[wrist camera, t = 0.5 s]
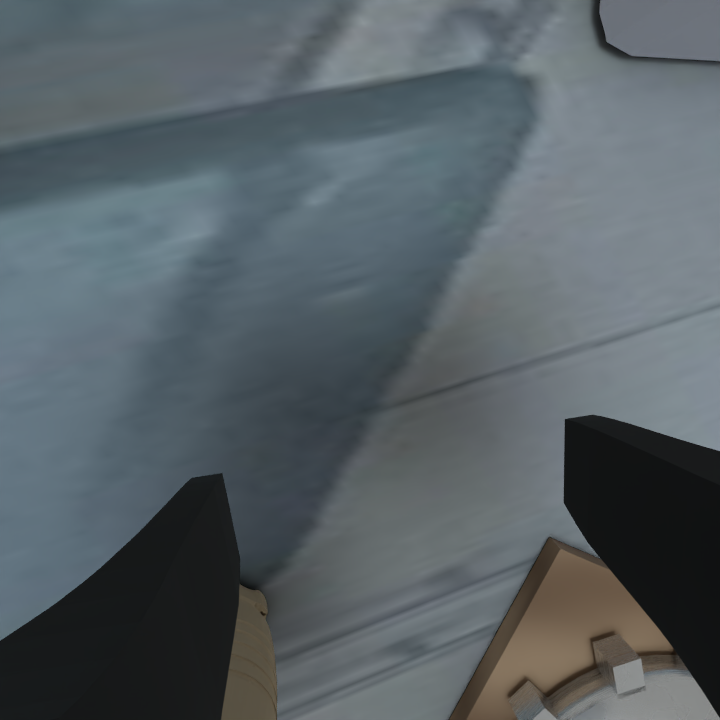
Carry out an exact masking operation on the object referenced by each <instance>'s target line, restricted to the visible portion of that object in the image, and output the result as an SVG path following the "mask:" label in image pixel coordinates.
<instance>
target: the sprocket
mask: <svg viewBox="0 0 720 720" xmlns="http://www.w3.org/2000/svg"><path fill="white" fill-rule="evenodd" d="M593 648H594V653H595V659H596V664H597V668H596V669H594V670H592V671H590V672H588V673H586V674H584V675H582V676H579V677H577V678H576V679H574V680H573V681H571V682H569V683H568V684H566V685H564V686H563V687H561V688H560V689H558V690H557V691H556V692H554V693H553V694H552V695H551V696H549V697H548V698H547V697H546V696H545V695H544V694H543V693H542V692H541V691H540V690H539V689H538V688H536V687H535V686H534V685H533V684H532V683H531V682H530V681H527V682H526V683H525V684H524V685H523V686H522V687H521V688H520V689H519V690H518V691H517V692H516V693H515V694H514V695H513V696H512V697H510V698H509V699H508V701H509V703H510V705H511V707H512V709H513V711H514V713H515V715H516V717H517V719H518V720H720V718H719V716H718V715H717V713H716V712H715V710H714V708H713V707H712V705H711V704H710V702H709V700H708V699H707V697H706V696H705V694H704V693H703V691H702V690H701V688H700V687H699V685H698V684H697V682H696V681H695V679H694V678H693V676H692V675H691V673H690V672H689V670H688V669H687V667H686V666H685V665H684V663H683V662H682V660H681V659H680V657H679V656H678V654H676V655H649V656H638V654H637V653H636V652H635V651H634V650H633V649H632V648H631V647H630V646H629V644H628V643H627V642H626V641H625V640H624V639H623V638H622V637H621V636H620V634H617V635H614V636H611V637H608V638H605V639H602V640H599V641H595V642H593Z"/></svg>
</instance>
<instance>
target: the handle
mask: <svg viewBox="0 0 720 720" xmlns="http://www.w3.org/2000/svg"><path fill="white" fill-rule="evenodd" d="M267 614H268V610H267V602H266V599H265V597H264V595H263V594H262V593H261V591H259V590H251V589H248V588H245V587H244V586H242V585H241V584H240V586H239V607H238V614H237V620H236V627H235V633H234V640H233V646H232V653H231V659H230V665H229V672H228V678H227V684H226V690H225V697H224V703H223V709H222V717H221V720H277V678H276V664H275V654H274V647H273V641H272V637H271V632H270V628H269V626H268V624H267V622H266V615H267Z"/></svg>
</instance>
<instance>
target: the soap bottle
mask: <svg viewBox="0 0 720 720" xmlns="http://www.w3.org/2000/svg"><path fill="white" fill-rule="evenodd" d="M599 13H600V17H601V21H602V24H603V28H604V31H605V36H606V42H608V43H609V44H611V45H613V46H615V47H616V48H618V49H620V50H622V51H624V52H625V53H627V54H629V55H631V56H642V57H659V58H676V59H693V60H710V61H720V0H600V10H599Z"/></svg>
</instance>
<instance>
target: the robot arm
mask: <svg viewBox="0 0 720 720" xmlns="http://www.w3.org/2000/svg"><path fill="white" fill-rule="evenodd" d="M564 504H565V506H566V507H567V509H568V511H569V513H570V514H571V516H572V518H573V519H574V521H575V523H576V525H577V526H578V528H579V529H580V531H581V532H582V534H583V536H584V537H585V539H586V540H587V542H588V543H589V544H590V546H591V547H592V548H593V549H594V551H595V552H596V553H597V554H598V556H599V557H600V558H601V559H602V561H603V562H604V563H605V564H606V566H607V567H608V568H609V569H610V570H611V572H612V573H613V574H614V575H615V577H616V578H617V579H618V580H619V581H620V583H621V584H622V585H623V586H624V587H625V589H626V590H627V591H628V592H629V593H630V595H631V596H632V597H633V598H634V599H635V601H636V602H637V603H638V604H639V605H640V607H641V608H642V609H643V610H644V612H645V613H646V614H647V615H648V616H649V618H650V619H651V620H652V621H653V622H654V624H655V625H656V626H657V627H658V629H659V630H660V631H661V632H662V634H663V635H664V636H665V638H666V639H667V640H668V642H669V643H670V644H671V646H672V647H673V648H674V650H675V651H676V653H677V654H678V656H679V657H680V659H681V660H682V662H683V663H684V665H685V666H686V667H687V669H688V670H689V672H690V673H691V675H692V676H693V678H694V679H695V681H696V682H697V684H698V685H699V687H700V688H701V690H702V691H703V693H704V694H705V696H706V697H707V699H708V700H709V702H710V704H711V705H712V707H713V708H714V710H715V712H716V713H717V715H718V716H719V718H720V451H717V450H713V449H710V448H706V447H703V446H699V445H696V444H693V443H689V442H686V441H683V440H680V439H676V438H673V437H670V436H667V435H664V434H660V433H657V432H654V431H651V430H648V429H644V428H641V427H638V426H635V425H632V424H628V423H625V422H621V421H618V420H614V419H610V418H606V417H602V416H596V415H588V416H582V417H575V418H569V419H565V452H564ZM239 586H240V556H239V551H238V546H237V542H236V537H235V532H234V527H233V522H232V518H231V513H230V508H229V503H228V498H227V493H226V489H225V484H224V479H223V474H222V473H221V474H214V475H208V476H202V477H195V478H191V479H190V480H189V481H188V482H187V483H186V484H185V485H184V486H183V487H182V488H181V489H180V490H179V491H178V492H177V493H176V494H175V495H174V496H173V497H172V498H171V500H170V501H169V502H168V503H167V504H166V505H165V506H164V507H163V508H162V509H161V510H160V511H159V512H158V513H157V514H156V515H155V516H154V517H153V518H152V519H151V520H150V522H149V523H148V524H147V525H146V526H145V527H144V528H143V529H142V530H141V531H140V532H139V533H138V534H137V535H136V536H135V537H133V538H132V539H131V540H130V541H129V542H128V543H127V544H126V545H125V546H124V547H123V548H122V549H121V550H120V551H118V552H117V553H116V554H115V555H114V556H113V557H112V558H111V559H110V560H109V561H108V562H107V563H106V564H104V565H103V566H102V567H101V568H100V569H99V570H97V571H96V572H95V573H94V574H93V575H92V576H90V577H89V578H88V579H87V580H85V581H84V582H83V583H82V584H80V585H79V586H78V587H77V588H75V589H74V590H73V591H71V592H70V593H69V594H67V595H66V596H65V597H64V598H62V599H61V600H60V601H58V602H57V603H56V604H54V605H53V606H51V607H50V608H49V609H47V610H46V611H44V612H43V613H41V614H40V615H38V616H37V617H35V618H34V619H32V620H31V621H29V622H28V623H26V624H25V625H23V626H22V627H20V628H19V629H17V630H16V631H14V632H13V633H11V634H10V635H8V636H7V637H5V638H4V639H2V640H1V641H0V720H221V717H222V709H223V703H224V697H225V690H226V684H227V678H228V672H229V665H230V659H231V653H232V646H233V640H234V633H235V627H236V620H237V614H238V607H239Z"/></svg>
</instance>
